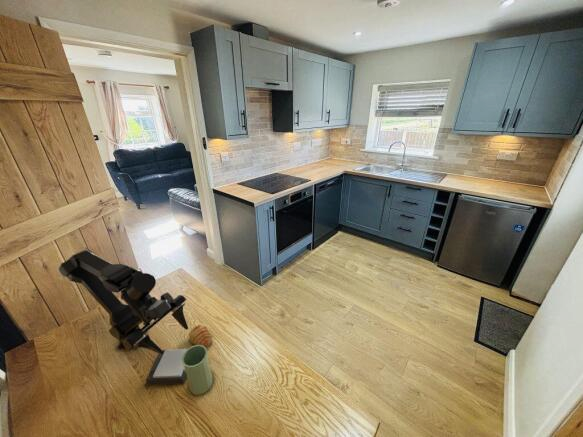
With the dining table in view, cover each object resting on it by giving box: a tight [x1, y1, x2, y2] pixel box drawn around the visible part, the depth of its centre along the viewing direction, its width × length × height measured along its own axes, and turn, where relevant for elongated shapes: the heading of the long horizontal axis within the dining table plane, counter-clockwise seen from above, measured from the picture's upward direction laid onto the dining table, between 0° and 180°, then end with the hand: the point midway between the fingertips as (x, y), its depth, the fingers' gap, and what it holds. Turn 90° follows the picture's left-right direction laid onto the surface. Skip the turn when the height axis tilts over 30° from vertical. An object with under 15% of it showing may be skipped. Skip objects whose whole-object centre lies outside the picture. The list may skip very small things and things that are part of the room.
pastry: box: [188, 324, 212, 349], centre depth 87 cm, size 9×7×4 cm
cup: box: [182, 345, 214, 396], centre depth 72 cm, size 7×7×13 cm
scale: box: [145, 348, 188, 386], centre depth 78 cm, size 11×10×3 cm
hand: (175, 340), depth 72 cm, fingers open, 9 cm apart
